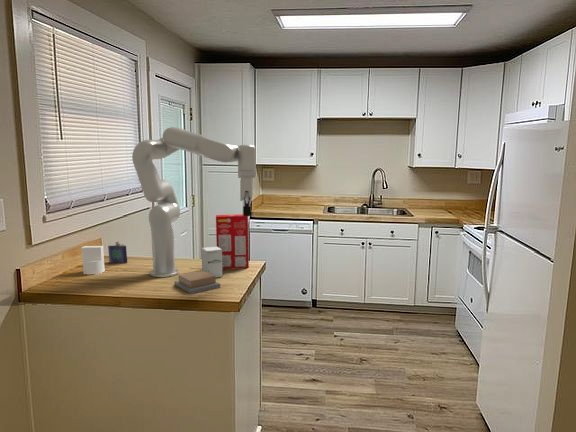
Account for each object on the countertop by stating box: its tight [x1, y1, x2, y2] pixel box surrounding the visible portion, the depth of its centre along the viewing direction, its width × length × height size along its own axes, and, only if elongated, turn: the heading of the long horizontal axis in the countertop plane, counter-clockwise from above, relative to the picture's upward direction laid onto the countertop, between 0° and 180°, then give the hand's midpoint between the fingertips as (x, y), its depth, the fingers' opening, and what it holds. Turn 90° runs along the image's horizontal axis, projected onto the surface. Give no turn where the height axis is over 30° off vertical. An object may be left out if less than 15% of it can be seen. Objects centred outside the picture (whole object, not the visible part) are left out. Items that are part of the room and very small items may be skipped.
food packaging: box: [215, 213, 250, 270], centre depth 209 cm, size 15×5×25 cm, turn 99°
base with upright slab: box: [81, 245, 105, 275], centre depth 201 cm, size 9×9×12 cm
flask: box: [107, 241, 128, 265], centre depth 218 cm, size 9×3×11 cm, turn 84°
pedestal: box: [174, 269, 221, 295], centre depth 181 cm, size 15×13×4 cm
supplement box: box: [200, 245, 223, 278], centre depth 195 cm, size 7×7×13 cm
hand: (247, 214), depth 189 cm, fingers open, 9 cm apart
